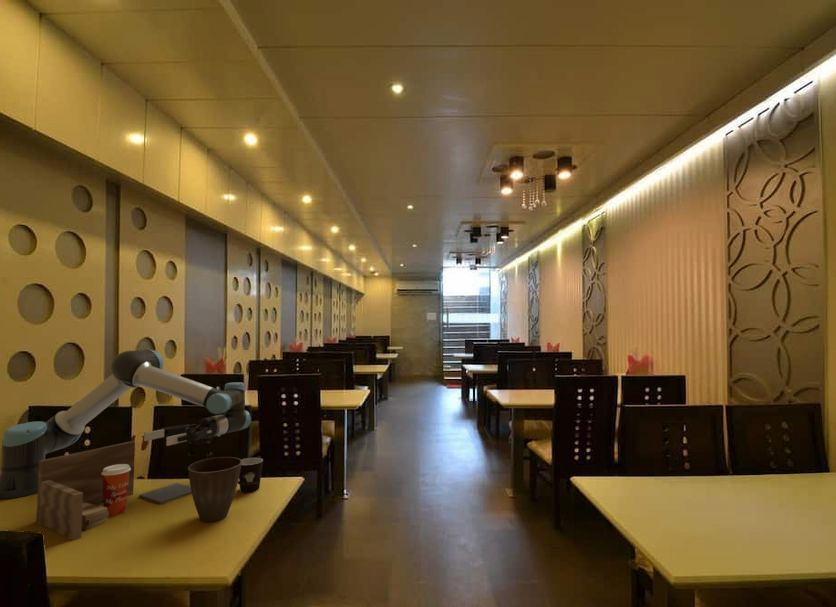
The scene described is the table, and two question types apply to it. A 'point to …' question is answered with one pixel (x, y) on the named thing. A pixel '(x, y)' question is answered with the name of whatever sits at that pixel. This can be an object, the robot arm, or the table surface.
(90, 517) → the offcut stack
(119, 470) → the paper cup
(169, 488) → the rubber mat
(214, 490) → the plant pot
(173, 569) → the table surface
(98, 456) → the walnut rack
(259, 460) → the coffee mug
